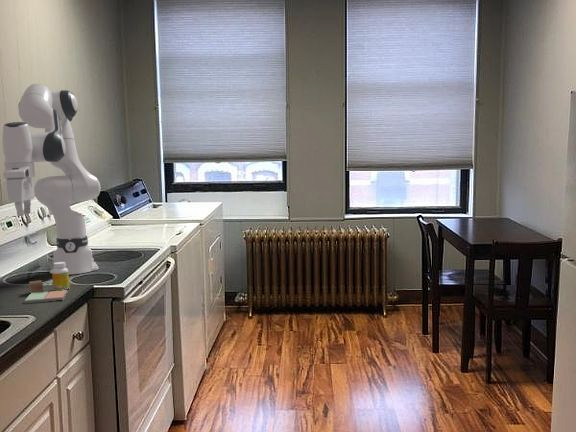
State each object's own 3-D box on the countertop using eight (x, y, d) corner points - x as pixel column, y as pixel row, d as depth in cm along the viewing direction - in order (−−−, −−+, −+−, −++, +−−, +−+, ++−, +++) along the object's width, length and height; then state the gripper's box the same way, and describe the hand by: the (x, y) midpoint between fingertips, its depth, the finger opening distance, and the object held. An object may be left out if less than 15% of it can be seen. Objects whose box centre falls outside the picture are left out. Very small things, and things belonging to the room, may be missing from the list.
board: (31, 295, 213) (30, 292, 213) (67, 293, 216) (67, 289, 216) (24, 303, 203) (23, 300, 203) (62, 300, 205) (62, 297, 205)
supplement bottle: (64, 291, 218) (62, 264, 217) (50, 291, 219) (48, 264, 218) (72, 288, 223) (70, 261, 222) (58, 288, 224) (56, 261, 223)
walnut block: (30, 292, 218) (29, 281, 218) (42, 291, 220) (41, 280, 220) (30, 295, 215) (29, 283, 214) (43, 293, 217) (42, 282, 216)
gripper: (17, 172, 211) (21, 213, 213) (1, 173, 191) (5, 218, 193) (37, 171, 213) (40, 212, 214) (23, 172, 192) (27, 216, 194)
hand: (24, 215), depth 203 cm, fingers open, 8 cm apart
